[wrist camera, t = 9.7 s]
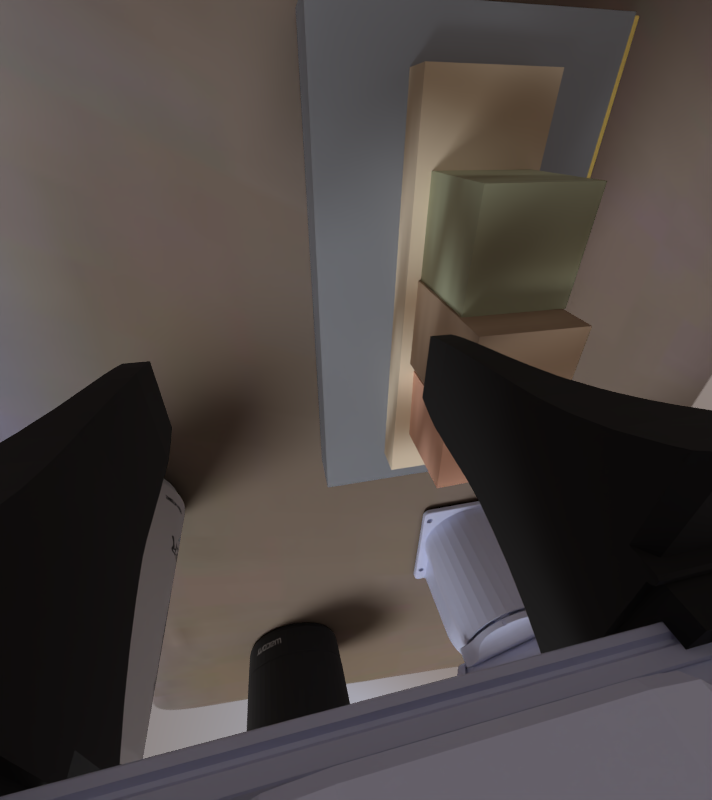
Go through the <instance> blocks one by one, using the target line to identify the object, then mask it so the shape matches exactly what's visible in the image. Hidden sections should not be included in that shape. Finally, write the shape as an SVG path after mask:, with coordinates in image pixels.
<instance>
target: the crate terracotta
mask: <svg viewBox="0 0 712 800" xmlns="http://www.w3.org/2000/svg"><path fill="white" fill-rule="evenodd" d="M423 388H424V384H423V382H422V381H421V379H420V378H419V376H418V375H417V373H416V372H415V371H414V374H413V388H412V402H411V415H410V429H409V435H410V437H411V439H412V441H413V443H414V444H415V446H416V448H417V450H418V452H419V454H420V456H421V458H422V460H423V462H424V464H425V466H426V468H427V470H428V472H429V474H430V475H431V477H432V479H433V481H434V483H435V485H436V487H437V488H441V487H446V486H451V485H457V484H462V483H467V482H468V481H467V479H466V477H465V476H464V474H463V473H462V471H461V469H460V468H459V466H458V465H457V463H456V461H455V460H454V458H453V456H452V455H451V453H450V452H449V450H448V448H447V447H446V445H445V443H444V442H443V440H442V438H441V437H440V435H439V433H438V432H437V430H436V428H435V427H434V425H433V422H432V420H431V418H430V416H429V413H428V411H427V408H426V406H425V403H424V401H423V398H422V396H423Z"/></svg>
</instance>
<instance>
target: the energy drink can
mask: <svg viewBox="0 0 712 800" xmlns="http://www.w3.org/2000/svg"><path fill="white" fill-rule="evenodd" d="M184 515H185V506H184V502H183V500H182V499H181V497H180V495H179V494H178V493H177V492H176V490H175V488H174V487H173V486H172V485H171V484H170V483H169V482H168V481H166V480H165V479H164V480H163V483H162V487H161V491H160V494H159V498H158V501H157V505H156V509H155V512H154V516H153V519H152V523H151V527H150V530H149V534H148V537H147V541H146V546H145V550H144V554H143V559H142V565H141V572H140V578H139V585H138V591H137V598H136V605H135V613H134V620H133V628H132V636H131V644H130V653H129V663H128V672H127V682H126V692H125V702H124V715H123V728H122V741H121V754H120V765H122V764H126V763H130V762H133V761H137V760H141V759H143V754H144V748H145V742H146V737H147V731H148V725H149V719H150V713H151V707H152V702H153V696H154V690H155V684H156V678H157V673H158V667H159V661H160V655H161V649H162V643H163V638H164V632H165V626H166V620H167V614H168V608H169V603H170V597H171V591H172V585H173V579H174V573H175V568H176V562H177V556H178V550H179V544H180V539H181V533H182V527H183V521H184Z"/></svg>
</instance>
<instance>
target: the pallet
mask: <svg viewBox="0 0 712 800" xmlns="http://www.w3.org/2000/svg"><path fill="white" fill-rule="evenodd" d="M563 71H564V67H547V66H524V65H500V64H476V63H453V62H429V61H425V62H422V63H420V64H417V65H414V66H412V67H410V71H409V87H408V102H407V117H406V132H405V147H404V162H403V178H402V193H401V208H400V223H399V238H398V253H397V269H396V284H395V299H394V314H393V329H392V344H391V360H390V375H389V390H388V405H387V420H386V435H385V451H384V453H385V456H386V458H387V460H388V463H389V465H390V468H391V470H395V469H401V468H407V467H414V466H420V465H425V464H424V462H423V460H422V458H421V456H420V454H419V452H418V450H417V448H416V446H415V444H414V443H413V441H412V439H411V437H410V435H409V429H410V415H411V402H412V388H413V374H414V371H415V372H416V373H417V375H418V376H419V378H420V379H421V381H422V382H423V384H424V381H425V373H426V366H427V358H428V351H429V343H430V336H438V335H449V334H452V335H456V336H459V337H462V338H465V339H468V340H470V341H473V342H475V343H478V344H480V345H482V346H485V347H487V348H489V349H492V350H494V351H497V352H499V353H501V354H504V355H506V356H508V357H511V358H513V359H515V360H518V361H520V362H523V363H525V364H528V365H530V366H533V367H536V368H538V369H541V370H544V371H546V372H549V373H552V374H555V375H557V376H560V377H563V378H566V379H569V380H572V378H573V375H574V372H575V370H576V367H577V364H578V362H579V359H580V357H581V354H582V351H583V349H584V346H585V343H586V341H587V338H588V336H589V333H590V330H591V328H592V326H591V325H589V324H588V323H586V322H584V321H583V320H581V319H579V318H577V317H576V316H574V315H572V314H571V313H569V312H567V311H565V310H564V309H553V310H542V311H531V312H519V313H508V314H497V315H485V316H474V317H461V316H460V315H458V314H457V313H456V312H455V311H454V310H453V309H452V308H451V307H450V306H448V305H447V304H446V303H445V302H444V301H443V300H442V299H441V298H440V297H438V296H437V295H436V294H435V293H434V292H433V291H432V290H431V289H430V288H429V287H427V286H426V285H425V284H424V283H423V282H422V281H421V274H422V264H423V254H424V244H425V234H426V224H427V214H428V204H429V194H430V184H431V174H432V171H456V170H521V169H532V170H538V171H540V167H541V163H542V159H543V154H544V150H545V146H546V142H547V138H548V133H549V129H550V125H551V121H552V117H553V113H554V108H555V104H556V100H557V96H558V92H559V87H560V83H561V79H562V75H563Z"/></svg>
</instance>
